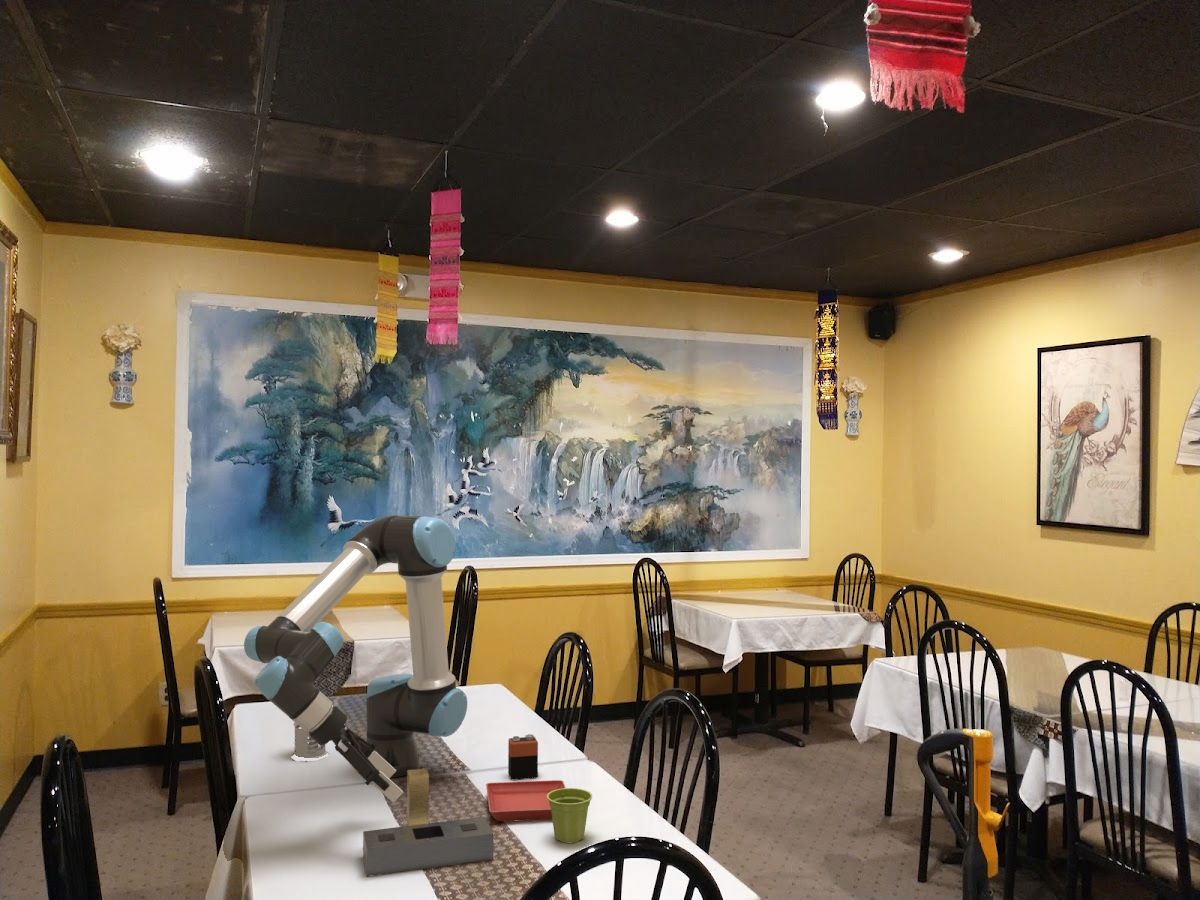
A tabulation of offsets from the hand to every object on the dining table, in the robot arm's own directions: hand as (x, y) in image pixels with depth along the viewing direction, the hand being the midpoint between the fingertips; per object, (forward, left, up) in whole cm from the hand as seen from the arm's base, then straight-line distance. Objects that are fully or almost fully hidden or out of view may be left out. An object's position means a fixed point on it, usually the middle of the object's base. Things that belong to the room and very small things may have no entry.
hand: (394, 785), depth 192 cm
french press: (-55, +27, -10) cm, 62 cm away
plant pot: (+32, +18, -10) cm, 38 cm away
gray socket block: (+14, -5, -10) cm, 18 cm away
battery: (+2, +43, -10) cm, 44 cm away
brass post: (+2, +4, -10) cm, 11 cm away
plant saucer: (+15, +27, -11) cm, 32 cm away
